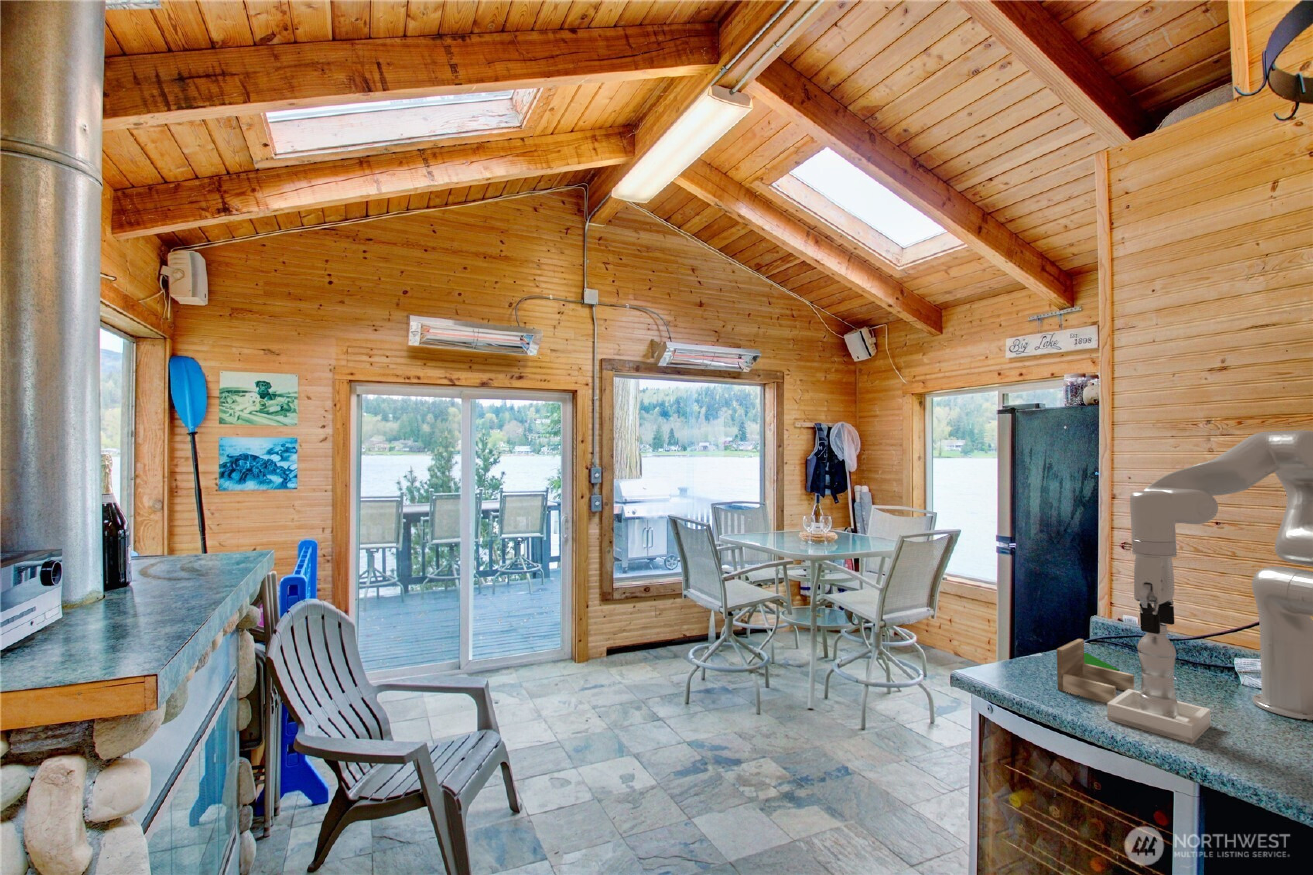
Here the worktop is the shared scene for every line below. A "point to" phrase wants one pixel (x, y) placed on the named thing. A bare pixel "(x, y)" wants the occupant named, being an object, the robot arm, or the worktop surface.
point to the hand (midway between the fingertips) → (1157, 627)
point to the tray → (1160, 718)
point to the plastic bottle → (1157, 674)
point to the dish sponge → (1097, 662)
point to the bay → (1088, 675)
